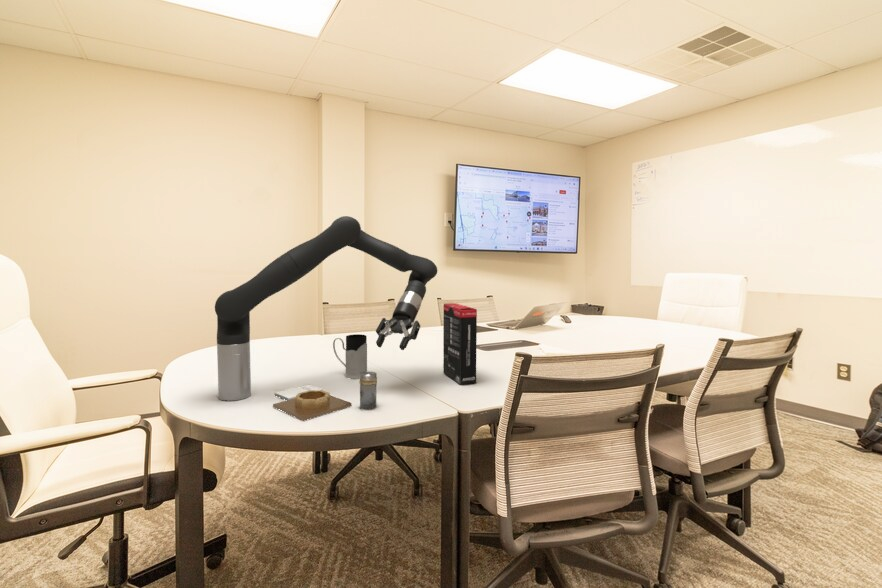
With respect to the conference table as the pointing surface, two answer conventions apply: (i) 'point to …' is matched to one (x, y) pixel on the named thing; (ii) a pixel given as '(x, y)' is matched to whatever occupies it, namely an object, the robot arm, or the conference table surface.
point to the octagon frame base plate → (312, 404)
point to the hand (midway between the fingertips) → (389, 347)
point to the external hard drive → (295, 392)
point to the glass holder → (354, 355)
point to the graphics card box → (460, 343)
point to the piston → (368, 390)
